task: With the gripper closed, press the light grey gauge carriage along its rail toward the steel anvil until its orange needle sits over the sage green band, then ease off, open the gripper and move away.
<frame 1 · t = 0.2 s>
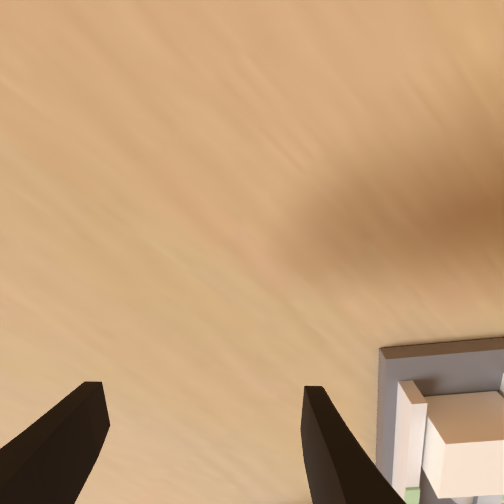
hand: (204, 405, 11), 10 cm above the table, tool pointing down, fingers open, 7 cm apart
gauge carriage: (477, 458, 21), point 3 cm above the table, slide at 0.0 cm
gauge base: (436, 451, 25), on the table
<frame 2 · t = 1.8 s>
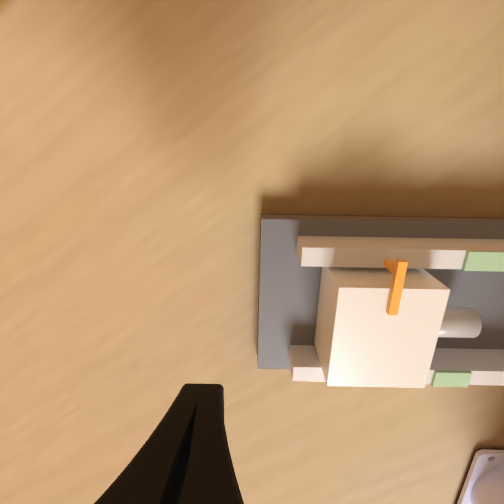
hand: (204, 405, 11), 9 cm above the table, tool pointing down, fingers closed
gauge carriage: (401, 310, 16), point 3 cm above the table, slide at 0.0 cm
gauge base: (433, 295, 19), on the table
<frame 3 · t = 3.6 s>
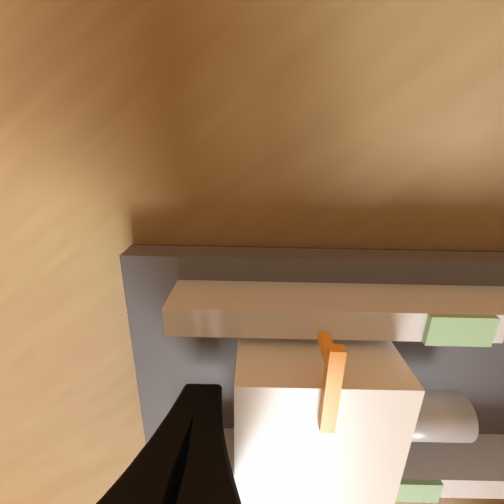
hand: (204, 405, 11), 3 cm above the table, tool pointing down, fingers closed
gauge carriage: (353, 401, 10), point 3 cm above the table, slide at 0.8 cm, touching gripper
gauge base: (392, 356, 13), on the table
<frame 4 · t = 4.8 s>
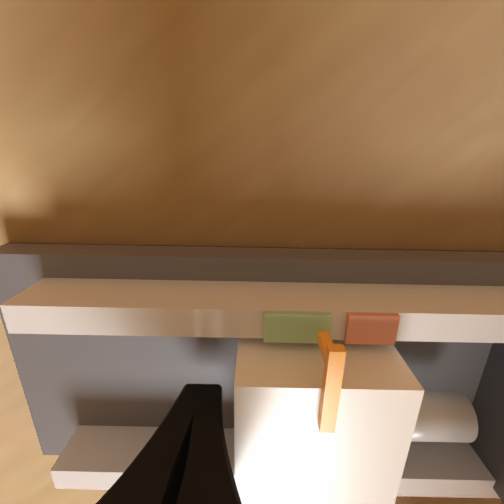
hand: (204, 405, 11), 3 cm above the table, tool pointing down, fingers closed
gauge carriage: (353, 401, 10), point 3 cm above the table, slide at 5.7 cm, touching gripper
gauge base: (282, 353, 14), on the table
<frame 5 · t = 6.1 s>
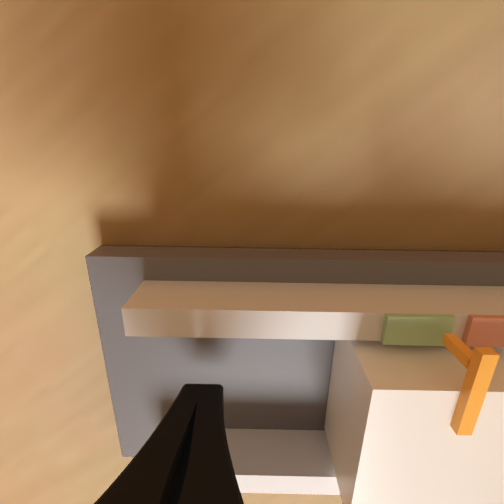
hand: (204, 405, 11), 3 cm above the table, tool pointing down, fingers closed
gauge carriage: (461, 403, 10), point 3 cm above the table, slide at 5.7 cm
gauge base: (364, 355, 14), on the table
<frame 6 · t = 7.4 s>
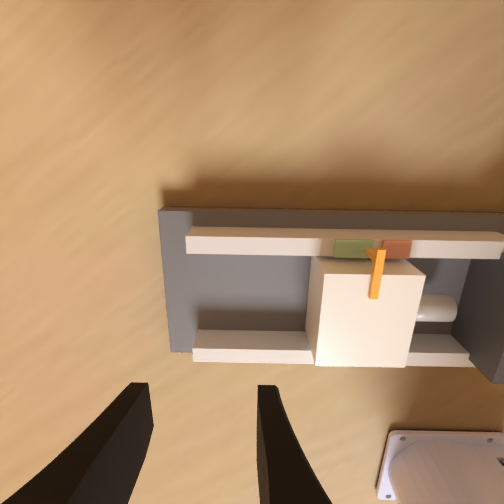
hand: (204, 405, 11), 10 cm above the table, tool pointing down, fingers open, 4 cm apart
gauge carriage: (383, 297, 17), point 3 cm above the table, slide at 5.7 cm
gauge base: (331, 282, 21), on the table
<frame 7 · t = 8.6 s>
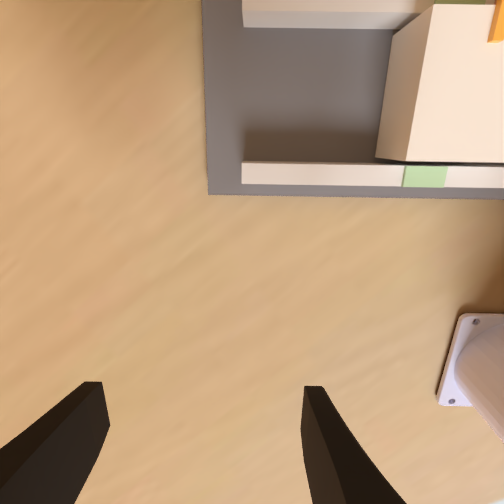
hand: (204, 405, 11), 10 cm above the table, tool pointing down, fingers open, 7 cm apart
gauge carriage: (490, 78, 14), point 3 cm above the table, slide at 5.7 cm
gauge base: (406, 103, 17), on the table
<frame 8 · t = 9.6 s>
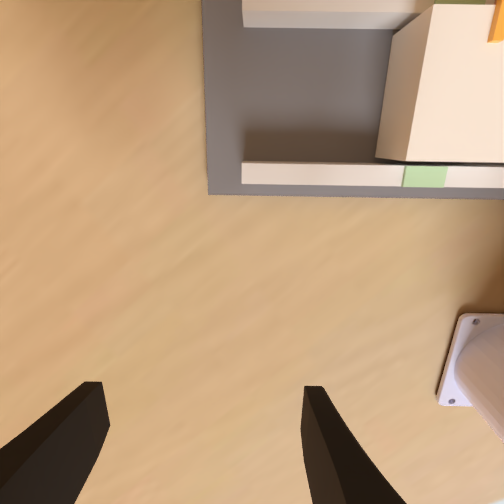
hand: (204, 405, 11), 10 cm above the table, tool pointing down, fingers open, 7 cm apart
gauge carriage: (490, 78, 14), point 3 cm above the table, slide at 5.7 cm
gauge base: (406, 103, 17), on the table
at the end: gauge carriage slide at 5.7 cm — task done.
